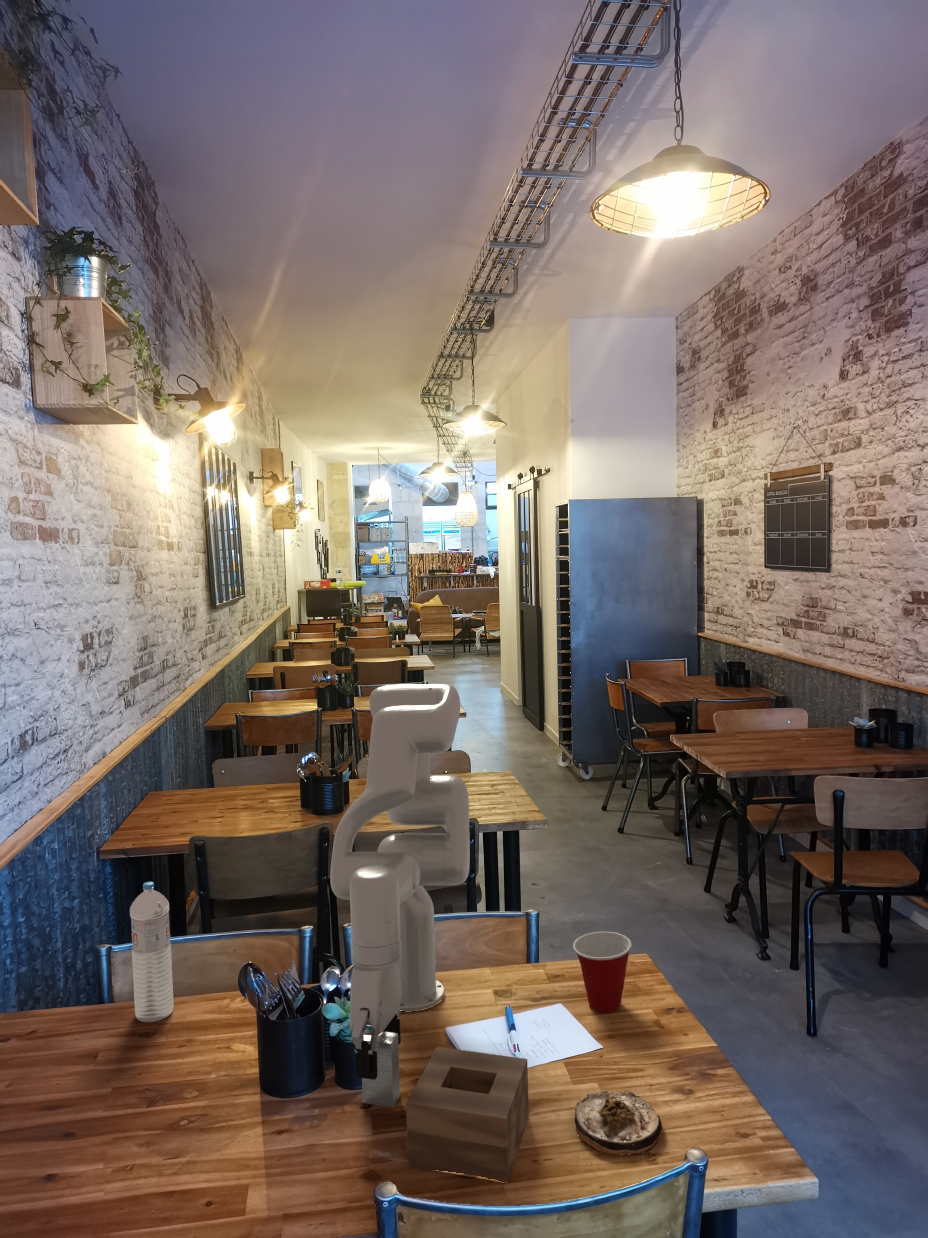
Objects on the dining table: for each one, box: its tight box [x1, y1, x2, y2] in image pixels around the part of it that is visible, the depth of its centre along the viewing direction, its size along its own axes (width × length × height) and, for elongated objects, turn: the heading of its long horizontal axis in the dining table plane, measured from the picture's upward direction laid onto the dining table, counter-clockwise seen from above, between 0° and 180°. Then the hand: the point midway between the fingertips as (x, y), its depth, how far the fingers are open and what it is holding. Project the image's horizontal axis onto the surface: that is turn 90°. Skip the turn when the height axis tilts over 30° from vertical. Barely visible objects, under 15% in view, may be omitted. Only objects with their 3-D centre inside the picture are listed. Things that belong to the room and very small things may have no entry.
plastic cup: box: [572, 931, 632, 1014], centre depth 156 cm, size 11×11×12 cm
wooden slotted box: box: [405, 1046, 530, 1183], centre depth 120 cm, size 14×14×9 cm
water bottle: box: [129, 881, 174, 1023], centre depth 157 cm, size 7×7×25 cm
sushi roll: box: [574, 1089, 663, 1156], centre depth 122 cm, size 15×15×4 cm
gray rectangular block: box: [361, 1032, 401, 1109], centre depth 130 cm, size 3×5×10 cm, turn 74°
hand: (379, 1060), depth 129 cm, fingers open, 9 cm apart
